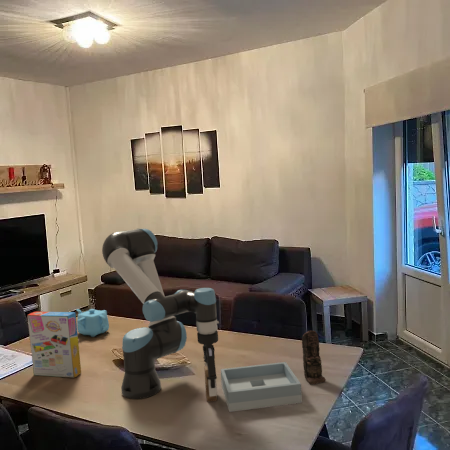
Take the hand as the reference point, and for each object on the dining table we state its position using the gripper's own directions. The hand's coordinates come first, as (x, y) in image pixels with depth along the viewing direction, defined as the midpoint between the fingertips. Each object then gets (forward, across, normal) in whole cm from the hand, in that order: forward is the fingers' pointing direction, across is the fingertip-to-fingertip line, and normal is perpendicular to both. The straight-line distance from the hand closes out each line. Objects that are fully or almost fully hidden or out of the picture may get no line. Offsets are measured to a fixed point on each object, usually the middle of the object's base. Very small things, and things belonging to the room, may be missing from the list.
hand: (211, 387), depth 168 cm
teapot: (+4, +92, +56) cm, 108 cm away
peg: (+4, 0, 0) cm, 5 cm away
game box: (+4, +39, +63) cm, 74 cm away
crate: (+5, -1, -18) cm, 18 cm away
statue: (+5, +5, -41) cm, 41 cm away
